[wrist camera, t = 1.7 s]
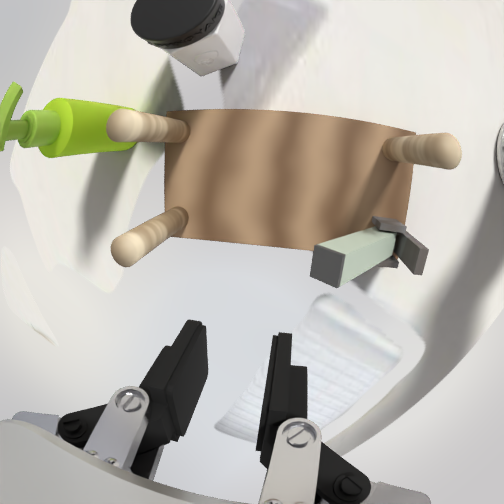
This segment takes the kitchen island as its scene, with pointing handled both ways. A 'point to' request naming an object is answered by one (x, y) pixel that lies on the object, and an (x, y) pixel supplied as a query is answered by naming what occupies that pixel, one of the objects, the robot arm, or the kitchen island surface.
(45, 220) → the kitchen island surface
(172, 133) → the stool seat
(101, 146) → the soap dispenser
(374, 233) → the hinged leg
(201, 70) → the jar
